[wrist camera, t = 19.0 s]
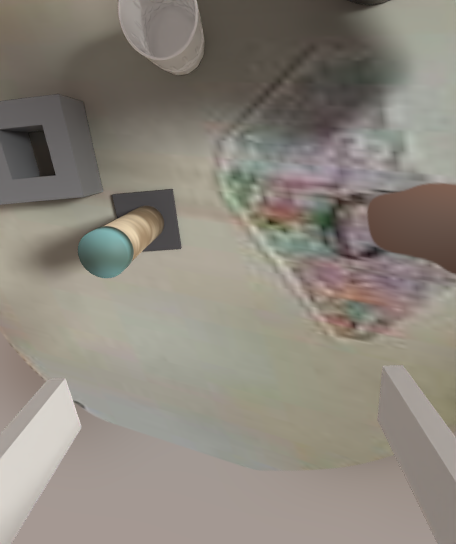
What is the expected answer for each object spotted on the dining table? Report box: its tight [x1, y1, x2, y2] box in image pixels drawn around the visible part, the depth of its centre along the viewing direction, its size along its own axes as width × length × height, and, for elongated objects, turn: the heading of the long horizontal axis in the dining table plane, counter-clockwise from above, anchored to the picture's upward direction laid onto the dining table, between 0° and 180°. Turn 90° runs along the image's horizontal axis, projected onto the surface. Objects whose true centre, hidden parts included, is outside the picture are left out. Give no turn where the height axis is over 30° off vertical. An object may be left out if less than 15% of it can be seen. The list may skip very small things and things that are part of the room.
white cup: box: [118, 0, 205, 75], centre depth 35 cm, size 8×8×10 cm
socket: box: [0, 94, 103, 205], centre depth 43 cm, size 12×12×6 cm
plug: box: [78, 206, 164, 278], centre depth 40 cm, size 5×5×16 cm
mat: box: [112, 189, 181, 252], centre depth 48 cm, size 9×9×1 cm
